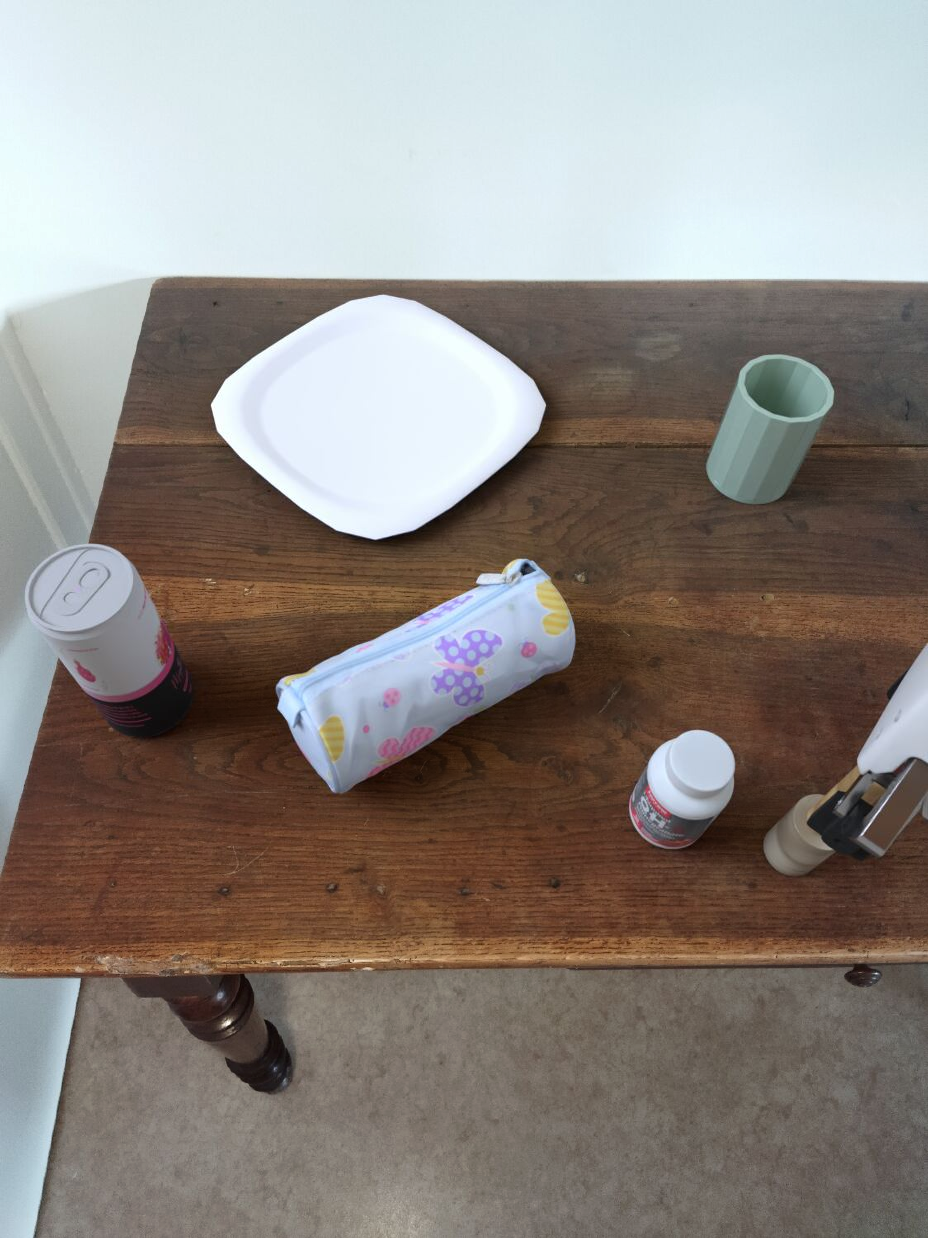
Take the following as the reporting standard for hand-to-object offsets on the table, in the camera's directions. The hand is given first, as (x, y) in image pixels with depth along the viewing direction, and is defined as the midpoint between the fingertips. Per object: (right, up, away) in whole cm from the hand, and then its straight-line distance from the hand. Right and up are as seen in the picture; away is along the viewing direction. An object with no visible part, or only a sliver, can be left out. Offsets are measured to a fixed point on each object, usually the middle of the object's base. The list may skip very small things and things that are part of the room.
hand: (874, 771), depth 48 cm
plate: (-30, +27, +32) cm, 51 cm away
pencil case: (-25, +2, +17) cm, 30 cm away
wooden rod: (0, -7, +12) cm, 14 cm away
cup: (+3, +21, +30) cm, 37 cm away
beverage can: (-45, +2, +17) cm, 48 cm away
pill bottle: (-8, -5, +13) cm, 17 cm away
